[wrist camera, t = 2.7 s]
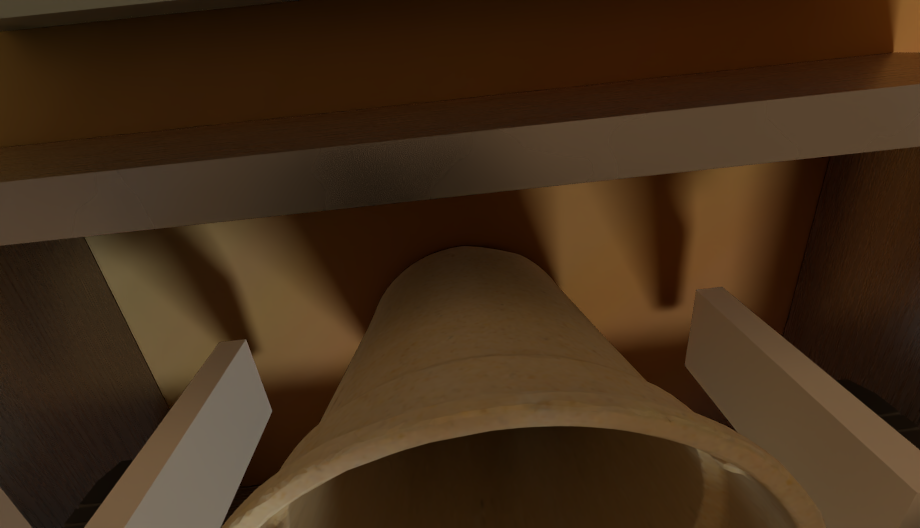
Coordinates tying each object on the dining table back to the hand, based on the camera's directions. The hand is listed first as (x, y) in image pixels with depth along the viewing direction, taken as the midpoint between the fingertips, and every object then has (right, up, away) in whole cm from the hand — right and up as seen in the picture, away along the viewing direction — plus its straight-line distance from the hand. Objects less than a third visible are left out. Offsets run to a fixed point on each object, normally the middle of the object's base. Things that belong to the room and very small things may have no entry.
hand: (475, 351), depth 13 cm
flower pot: (0, +1, +1) cm, 2 cm away
